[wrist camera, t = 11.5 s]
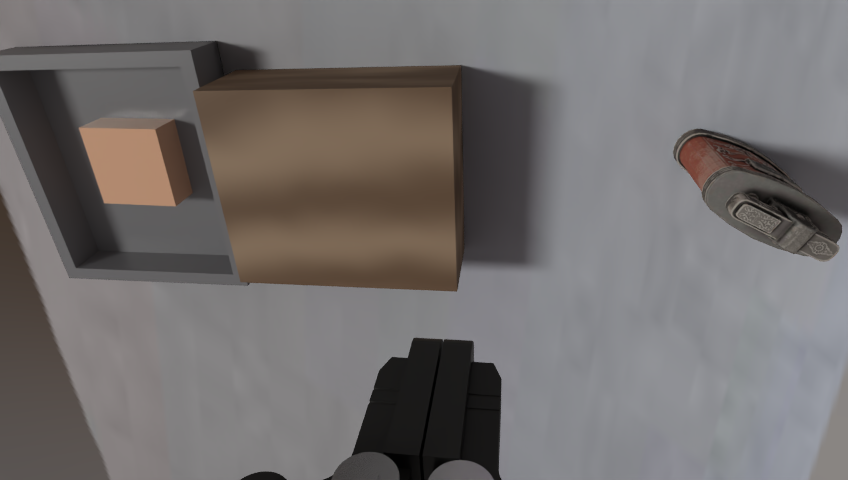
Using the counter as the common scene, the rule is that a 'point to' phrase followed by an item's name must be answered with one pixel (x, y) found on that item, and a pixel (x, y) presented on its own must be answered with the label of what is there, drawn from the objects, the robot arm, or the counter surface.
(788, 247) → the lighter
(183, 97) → the tray
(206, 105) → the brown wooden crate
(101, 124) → the tile
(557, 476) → the counter surface
